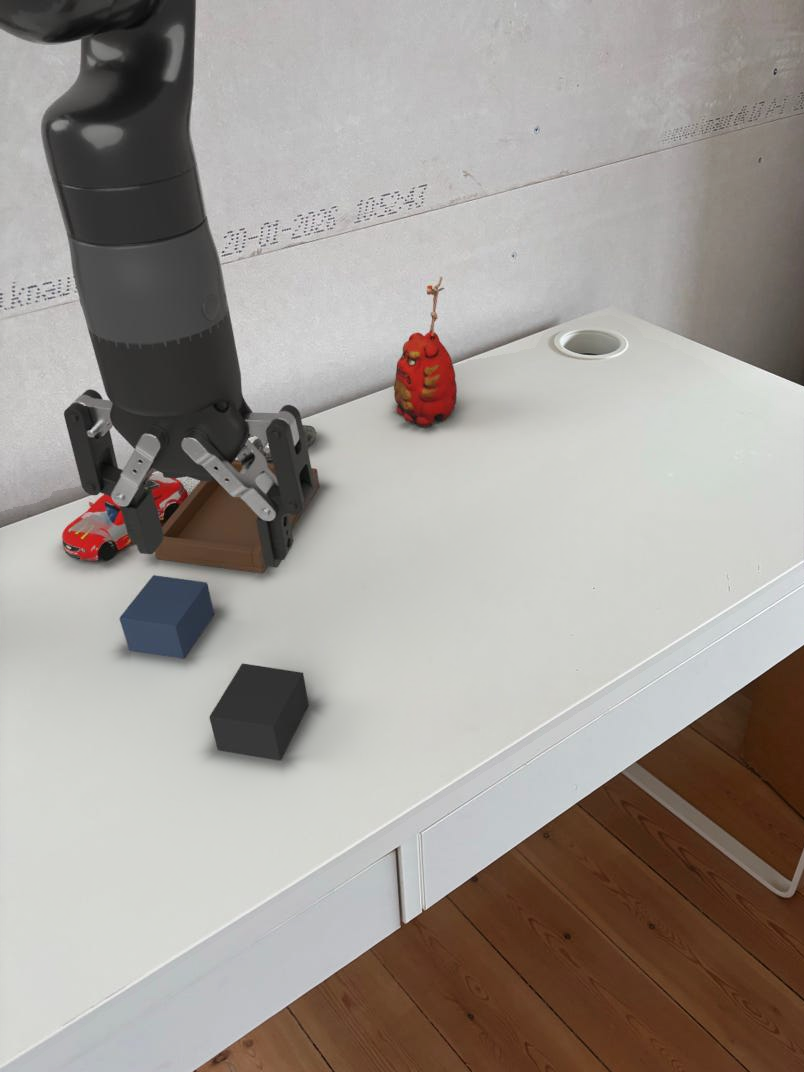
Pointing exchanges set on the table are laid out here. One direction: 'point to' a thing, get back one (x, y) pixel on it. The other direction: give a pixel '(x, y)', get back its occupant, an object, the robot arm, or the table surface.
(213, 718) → the black block
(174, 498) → the race car
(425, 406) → the red clay folk toy
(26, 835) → the table surface
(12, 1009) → the table surface
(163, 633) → the blue block
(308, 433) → the corroded twin loop
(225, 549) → the brown tray
